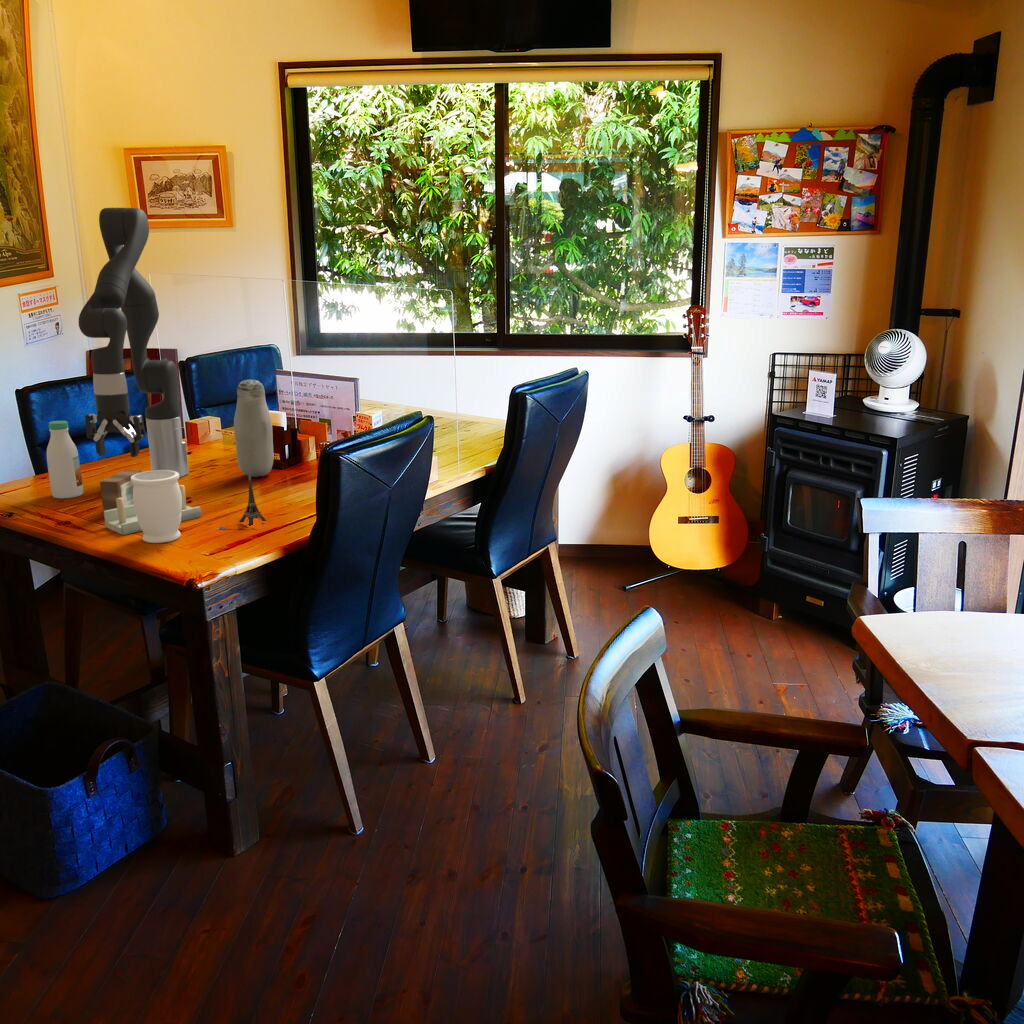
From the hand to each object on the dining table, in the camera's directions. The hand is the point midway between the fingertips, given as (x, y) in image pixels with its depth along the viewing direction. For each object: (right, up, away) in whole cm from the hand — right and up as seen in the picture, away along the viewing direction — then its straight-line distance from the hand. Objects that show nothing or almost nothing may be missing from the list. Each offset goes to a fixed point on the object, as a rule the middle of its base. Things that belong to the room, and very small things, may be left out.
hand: (118, 456), depth 230 cm
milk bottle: (-21, -10, +17) cm, 28 cm away
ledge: (+11, -16, -5) cm, 20 cm away
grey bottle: (+24, -4, +37) cm, 45 cm away
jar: (+17, -20, -17) cm, 32 cm away
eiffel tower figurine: (+35, -17, -6) cm, 40 cm away
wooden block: (0, -13, +4) cm, 14 cm away
